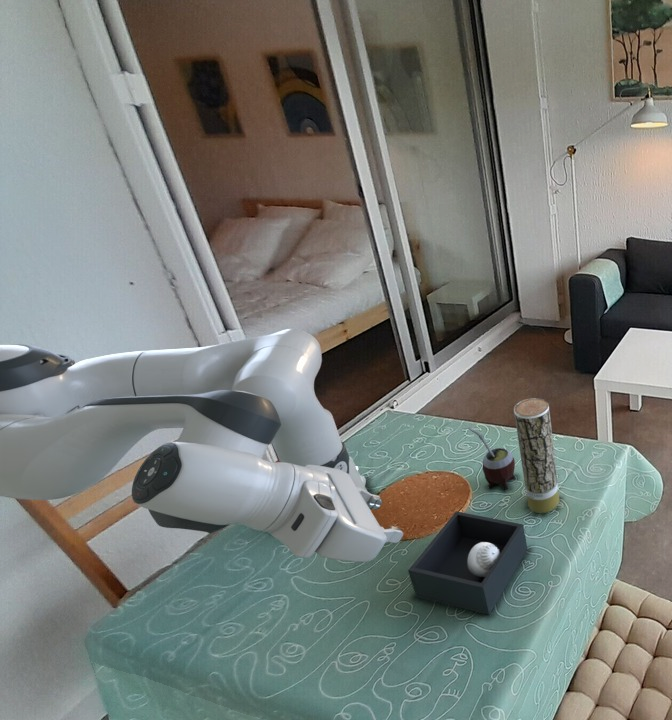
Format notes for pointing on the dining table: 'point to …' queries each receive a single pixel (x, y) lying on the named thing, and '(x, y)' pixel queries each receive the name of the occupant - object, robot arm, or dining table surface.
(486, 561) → the white rounded piece
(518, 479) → the dining table surface
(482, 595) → the bin
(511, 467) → the mate gourd
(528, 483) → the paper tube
